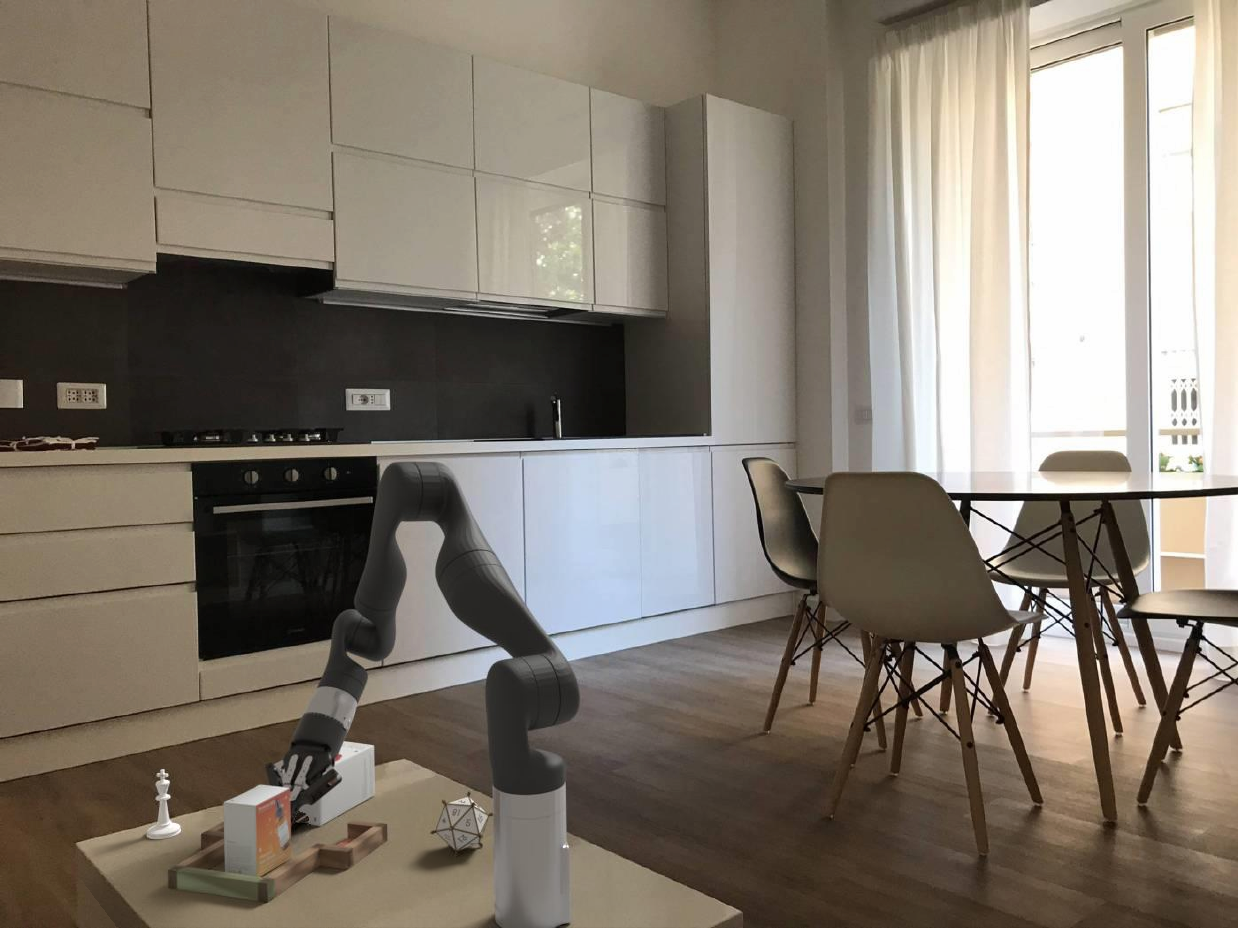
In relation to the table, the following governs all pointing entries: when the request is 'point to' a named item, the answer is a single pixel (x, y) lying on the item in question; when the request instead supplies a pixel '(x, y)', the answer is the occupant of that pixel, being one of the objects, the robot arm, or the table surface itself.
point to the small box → (257, 830)
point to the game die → (462, 823)
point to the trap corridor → (344, 855)
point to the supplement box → (345, 784)
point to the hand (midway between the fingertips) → (279, 827)
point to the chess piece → (163, 812)
